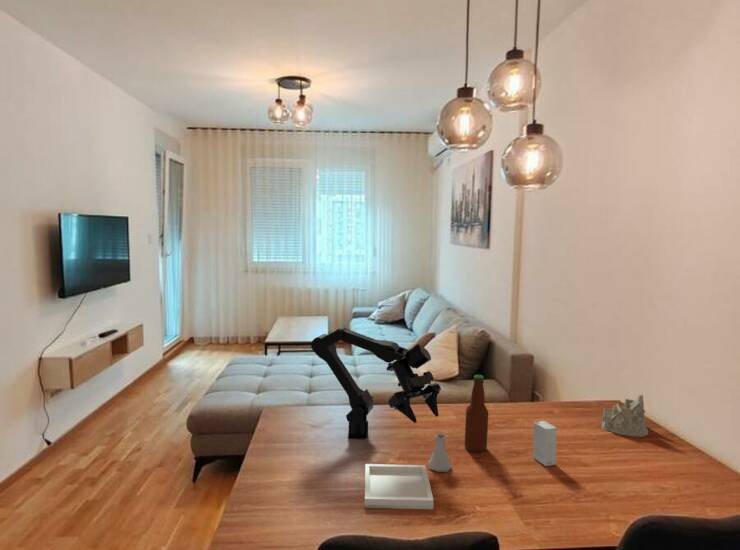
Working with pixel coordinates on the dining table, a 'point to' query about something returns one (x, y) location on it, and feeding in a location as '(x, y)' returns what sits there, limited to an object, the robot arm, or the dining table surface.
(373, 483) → the tray
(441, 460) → the flask
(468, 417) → the bottle
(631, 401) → the grey rock
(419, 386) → the robot arm
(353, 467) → the dining table surface
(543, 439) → the skincare box
